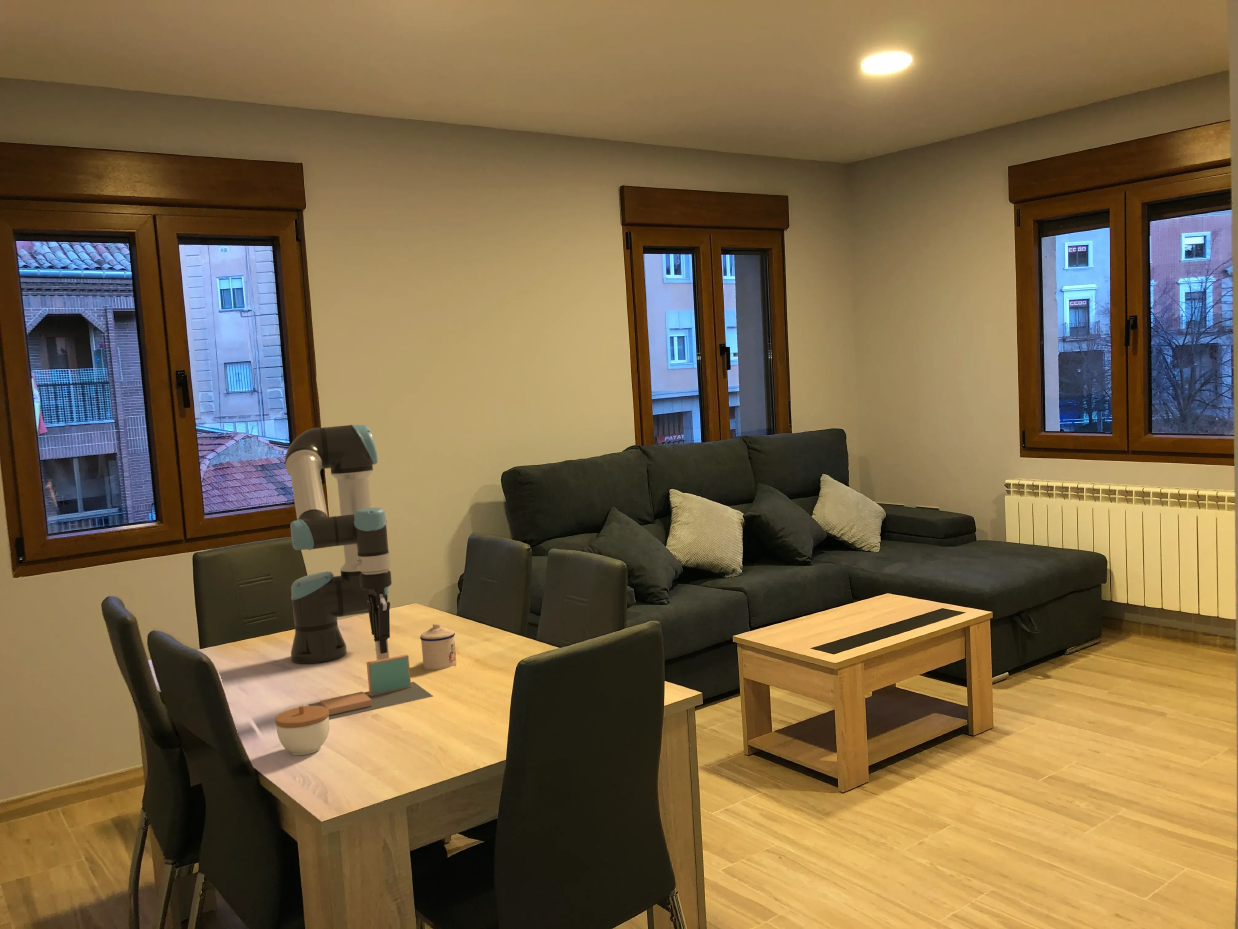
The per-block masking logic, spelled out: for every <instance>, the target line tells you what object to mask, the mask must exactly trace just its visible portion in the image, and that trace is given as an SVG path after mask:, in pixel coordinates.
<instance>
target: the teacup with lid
mask: <svg viewBox="0 0 1238 929" xmlns="http://www.w3.org/2000/svg"><path fill="white" fill-rule="evenodd" d="M455 635H456V633H455V631H454V630H453V629H450V628H446V627H445V626H442V625H441V623H439V622H435V623H433V624H432V627H430V628H429V629H428V630H426V631H424V632H421V634H420V636H419V639H420V641H421V654H422V663H423V664H422V665H423V666H422V667H423V668H424V669H425V670H433V671H434V670H435V671H436V670H442V669H443V670H444V669H448V668H451V667H456V666H457V654H456V644H455V643H456V642H455V641H456V640H455Z"/></svg>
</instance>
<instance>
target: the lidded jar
mask: <svg viewBox="0 0 1238 929" xmlns="http://www.w3.org/2000/svg"><path fill="white" fill-rule="evenodd" d="M274 720H275V721H274V722H275V726H276V733H277V737H278V740H279V742H280V744H281V746H282V747H283V748H284V749H285V750H287V751H288V752H289V753H290V754H291V755H293V756H306V755H311V754H313V753H316V752H318V751H320V750H321V749H322V746H323V745H324V743H325V742H326V740H327V738H328V736H329V733H330V732H329V731H330V720H329V710H328V709H327V708H326V707H323V706H309V705H306V706H305V705H299V706H298V707H294V708H290V709H288V710H285V711H282V712H281V713H278V714H277V716H276V717H275V719H274Z"/></svg>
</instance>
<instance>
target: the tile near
mask: <svg viewBox="0 0 1238 929" xmlns="http://www.w3.org/2000/svg"><path fill="white" fill-rule="evenodd" d="M364 692H365V691H359V692H353V693H349V694H345V695H341V696H340V695H339V696H336V697H330V698H325V699H321V700H320V701H319V702H320V703H321V706H323V707H326V708H327V709H328V710H329V715H334V714H338V713H343V712H347V711H351V710H356V709H360V708H365V707H369V706H372V700H371V699H370V698H369V697H368V696H367V695H366V694H365V693H364Z"/></svg>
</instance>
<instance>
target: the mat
mask: <svg viewBox="0 0 1238 929" xmlns="http://www.w3.org/2000/svg"><path fill="white" fill-rule="evenodd" d="M363 692H364V693H365V694H366V695H367V696H368V697H369V698H370V699H371V700H372V706H369V707H365V708H360V709H356V710H351V711H347V712H343V713H338V714H334V715H329V721H331V720H335V719H338V718H343V717H349V716H351V715H357V714H361V713H366V712H371V711H373V710H379V709H384V708H388V707H392V706H397V705H401V704H405V703H410V702H415V701H418V700H419V701H420V700H423V699H428V698H432V697H434V696H433V694H431V693H429V691H427V690H426V689H424V688H423V687H421V686H420V685H419V684H418V683H416V682H415V681H411V687H410V688H405V689H401V690H396V691H392V692H387V693H383V694H378V695H373V696H370V695H369V690H368V691H363ZM307 706H321V703H320V701H317V702H313V703H309V704H307Z"/></svg>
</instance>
